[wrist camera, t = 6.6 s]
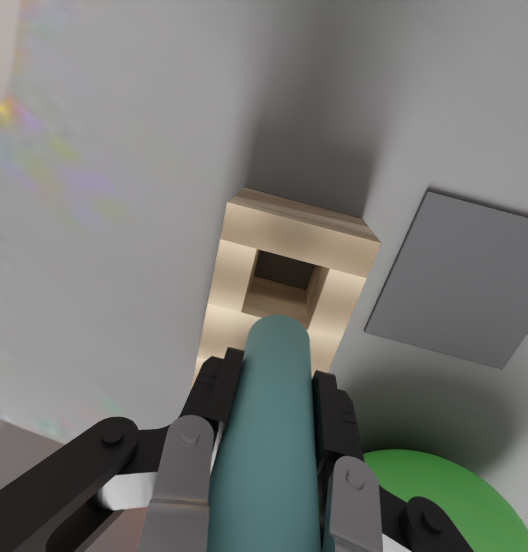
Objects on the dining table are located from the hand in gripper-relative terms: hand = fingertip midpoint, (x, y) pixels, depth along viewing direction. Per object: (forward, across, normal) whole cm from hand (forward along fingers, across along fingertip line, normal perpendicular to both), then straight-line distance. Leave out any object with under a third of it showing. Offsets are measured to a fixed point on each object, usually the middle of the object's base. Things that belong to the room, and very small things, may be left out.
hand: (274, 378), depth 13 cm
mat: (+14, -14, -2) cm, 20 cm away
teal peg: (+3, 0, 0) cm, 3 cm away
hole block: (+14, 0, +4) cm, 14 cm away
